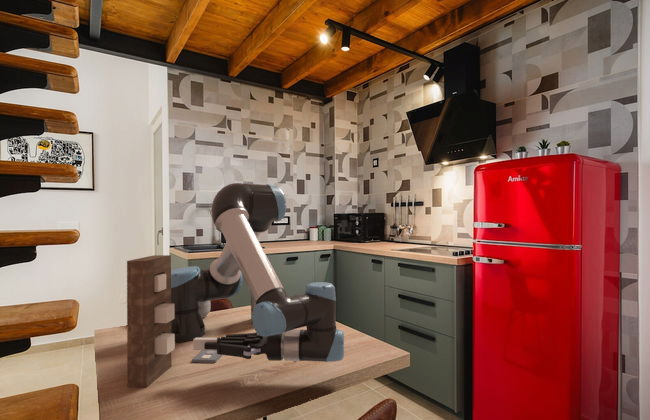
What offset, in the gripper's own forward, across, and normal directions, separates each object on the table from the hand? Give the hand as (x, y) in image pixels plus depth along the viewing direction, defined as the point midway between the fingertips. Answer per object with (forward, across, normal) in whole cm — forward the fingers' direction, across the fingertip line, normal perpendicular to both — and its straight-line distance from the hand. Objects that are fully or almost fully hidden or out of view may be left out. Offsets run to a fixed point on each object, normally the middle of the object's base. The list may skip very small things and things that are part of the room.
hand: (194, 343), depth 92 cm
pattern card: (+2, +14, -9) cm, 16 cm away
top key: (+11, 0, +14) cm, 18 cm away
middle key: (+8, 0, +6) cm, 10 cm away
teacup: (+23, +54, -9) cm, 59 cm away
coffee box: (-5, +48, -9) cm, 49 cm away
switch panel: (+12, 0, -9) cm, 15 cm away
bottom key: (+8, 0, -2) cm, 9 cm away
